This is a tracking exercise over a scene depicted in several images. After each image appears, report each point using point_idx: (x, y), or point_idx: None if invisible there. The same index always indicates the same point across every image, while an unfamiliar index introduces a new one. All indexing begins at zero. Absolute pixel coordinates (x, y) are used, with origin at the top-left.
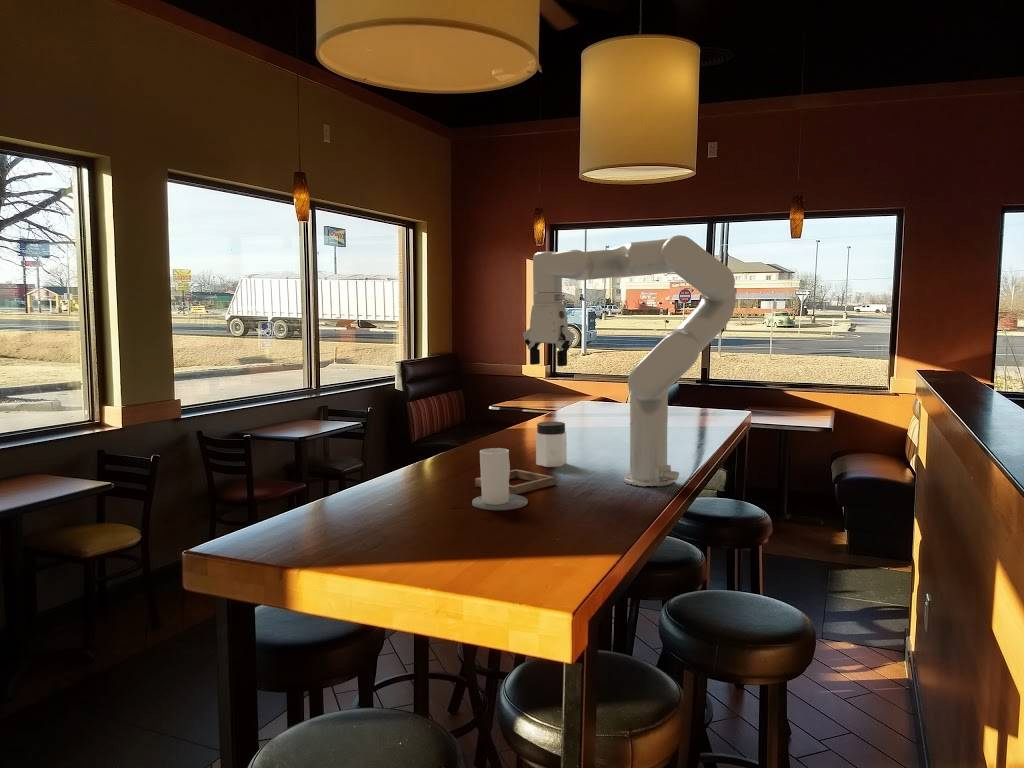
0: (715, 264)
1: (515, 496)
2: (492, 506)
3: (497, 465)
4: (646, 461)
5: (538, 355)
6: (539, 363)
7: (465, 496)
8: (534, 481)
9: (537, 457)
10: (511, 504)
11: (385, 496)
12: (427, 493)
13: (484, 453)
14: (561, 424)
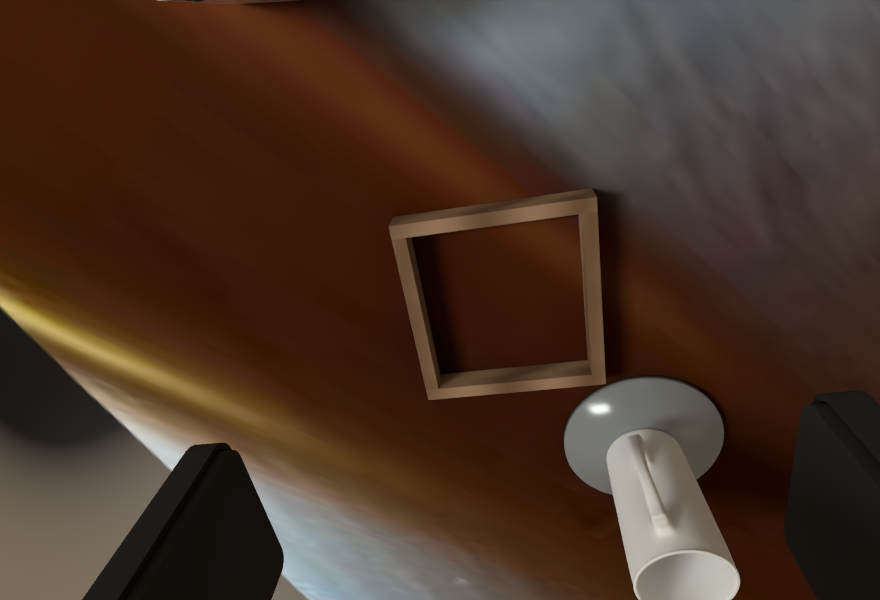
0: None
1: (641, 393)
2: None
3: (714, 563)
4: None
5: (175, 581)
6: (236, 452)
7: (514, 456)
8: (596, 295)
9: (232, 3)
10: (698, 444)
11: (388, 560)
12: (422, 497)
13: None
14: None
